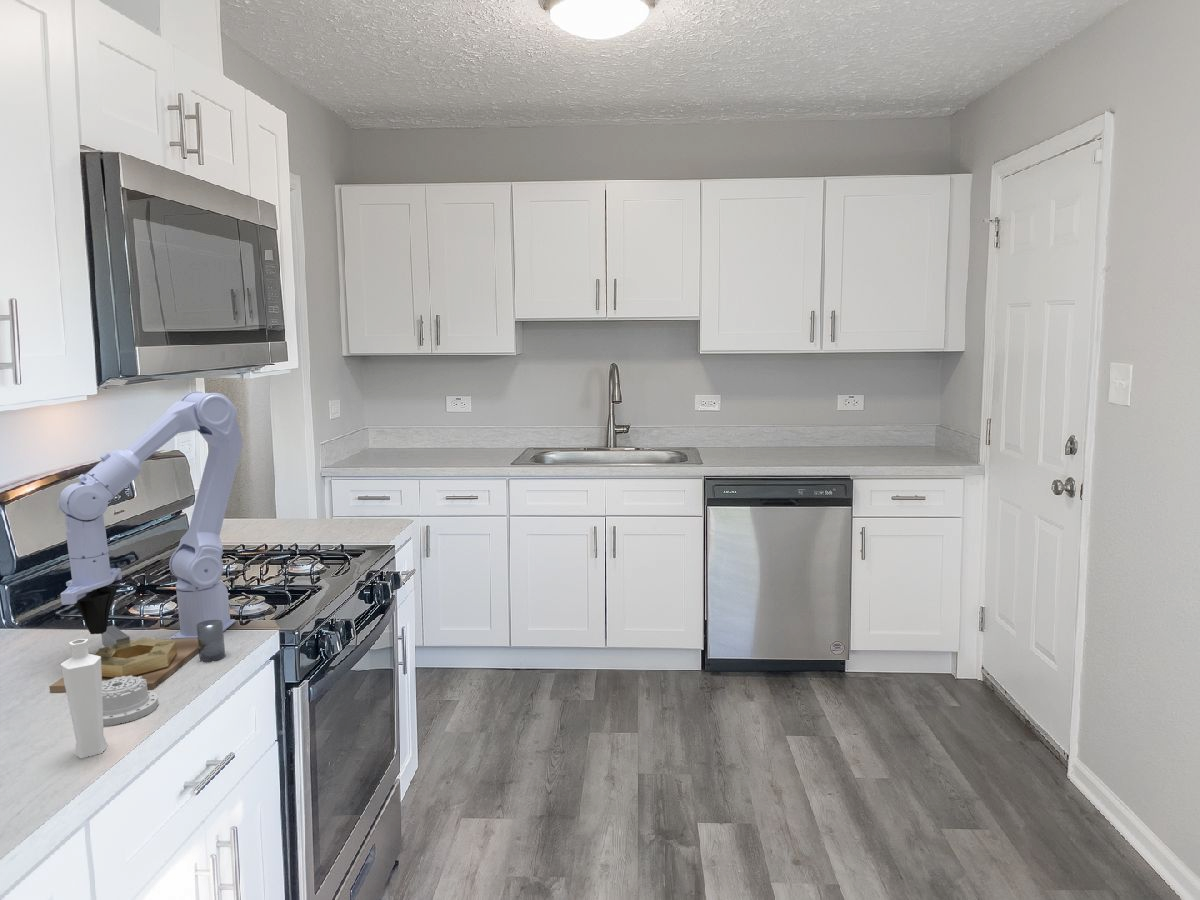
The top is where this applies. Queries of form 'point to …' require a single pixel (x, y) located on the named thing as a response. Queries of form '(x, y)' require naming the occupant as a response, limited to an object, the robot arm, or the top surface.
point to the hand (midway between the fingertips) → (98, 632)
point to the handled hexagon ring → (133, 654)
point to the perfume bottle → (85, 698)
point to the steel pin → (210, 640)
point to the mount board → (156, 677)
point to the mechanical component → (126, 700)
